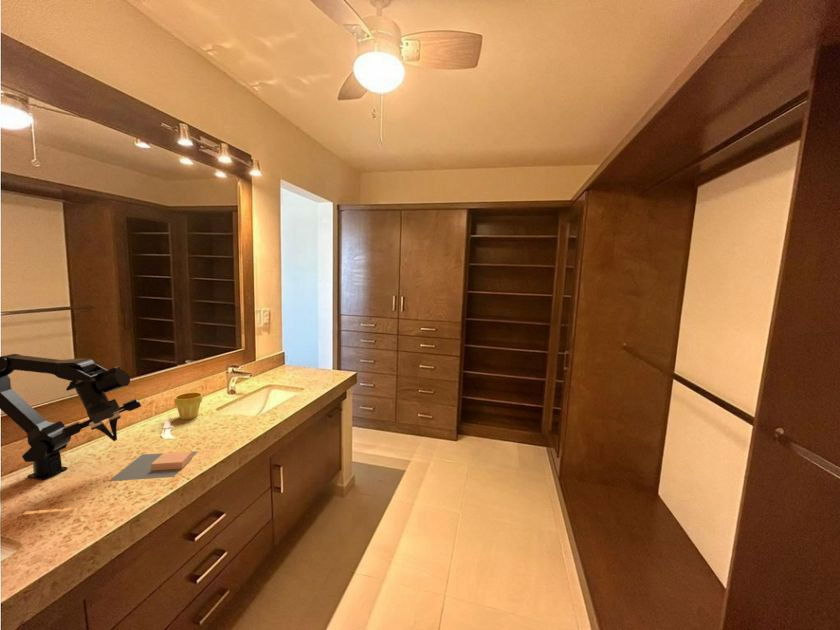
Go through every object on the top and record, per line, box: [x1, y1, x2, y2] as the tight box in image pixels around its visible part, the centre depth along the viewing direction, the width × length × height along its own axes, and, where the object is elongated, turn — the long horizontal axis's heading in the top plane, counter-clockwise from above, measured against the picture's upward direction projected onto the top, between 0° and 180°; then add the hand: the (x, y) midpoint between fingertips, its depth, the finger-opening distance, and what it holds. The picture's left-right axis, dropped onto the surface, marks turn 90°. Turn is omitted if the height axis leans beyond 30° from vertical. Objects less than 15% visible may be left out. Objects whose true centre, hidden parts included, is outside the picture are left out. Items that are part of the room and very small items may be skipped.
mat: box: [108, 450, 199, 482], centre depth 113 cm, size 18×16×1 cm
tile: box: [151, 451, 194, 470], centre depth 114 cm, size 2×7×9 cm
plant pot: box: [174, 391, 203, 420], centre depth 153 cm, size 10×10×10 cm
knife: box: [160, 418, 175, 440], centre depth 137 cm, size 30×2×8 cm
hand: (115, 440), depth 110 cm, fingers closed
